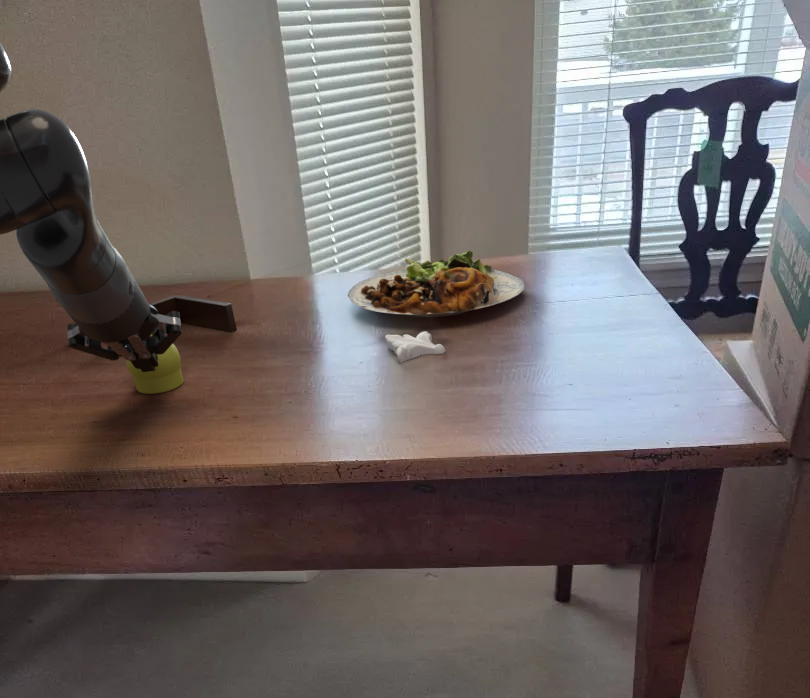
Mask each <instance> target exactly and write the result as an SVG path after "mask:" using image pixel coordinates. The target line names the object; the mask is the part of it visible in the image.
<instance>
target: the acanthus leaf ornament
mask: <svg viewBox="0 0 810 698" xmlns="http://www.w3.org/2000/svg"><path fill="white" fill-rule="evenodd" d="M384 339H385V341H386V344H387V346H388V349H389V350H390V351H393V352H394V354H395V355H396V356H397V360H398V363H399V364H402V363H404V362H406V361H407V362H408V361H409V360H413V358H414V359H416V358H418V357H420V355H421V356H424V355H425V356H426V355H442V354H445V353H446V349H445V347H444V345H442V344H441V343H437V344H434V343H433V342H432V339H433V337H432V333H429V332H428V331H426V330H425V331H421V332H419V333H418V334H417V335H416V337H414V336H412V335H410V334H403V335H399V334H386V335H385V336H384ZM417 356H418V357H417ZM415 357H416V358H415Z"/></svg>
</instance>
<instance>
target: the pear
mask: <svg viewBox="0 0 810 698" xmlns="http://www.w3.org/2000/svg"><path fill="white" fill-rule="evenodd" d="M151 336H152V334H151ZM157 356H158V367H155V371H150V372H142V371H141V369H137V368H135V367H134V366H133V364H132V363H131V362H130V361H128V360H126V359H125V364H126V367H127V370H128V372H129V373H130V375H131V376H132V378H133V383H134V385H135V389H136V391H137V392H138V393H141V394H145V395H146V394H147V395H149V394H150V395H152V394H161V393H166V392H170V391H173V390H175V389H177V388H179V387H180V386H181V385H183V383H184V382H185V381H184V376H183V373H182V372H183V371H182V369H181V355H180V352H179V350H178V348H177V346H176V345H175V344H174V343H173V344H172V345H171V346H170V347H169V348H168V349H167V351H166V352H165V353H164V354H160V355H158V354H157Z"/></svg>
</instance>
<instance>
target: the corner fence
mask: <svg viewBox="0 0 810 698" xmlns="http://www.w3.org/2000/svg"><path fill="white" fill-rule="evenodd" d="M148 304H149V305H151V306H153V307H154V308H156V310H157V311H158V314H161V315H165V316H166V315H167V314H168V313H169V312H171V311H177V312H179V313H180V322H181V324H188V325H193V326H198V327H203V328H208V329H214V330H219V331H223V332H228V333H232V332H234V331H237V324H236V319H235V314H234V309H233V305H232V303H229V302H223V301H216V300H210V299H204V298H199V297H198V298H197V297H192V296H186V295H179V294H173V295H170V296H168V297H165V298H162V299H159V300H156V301H153V302H151V303H148Z"/></svg>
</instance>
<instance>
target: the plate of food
mask: <svg viewBox="0 0 810 698" xmlns="http://www.w3.org/2000/svg"><path fill="white" fill-rule="evenodd" d="M473 253H474V252H473V251H472V250H468V251H463V252H462V253H461V252H460V253H457V254H453V255H451V256H450V257H448V260H444V259H443V258H441V259H439V260H438V261H435V262H431V261H430V260H425V261H424V262H422V263H420V262H418V261H415V260H413V259H411V258H404V261H405V262H406V263H407V264H408V266H407V267H406V268H405V269H400V270H399V269H398V270H395V271H389V272H384V273H381V274H377V275H373V276H371V277H368V278H365V279H363V280H361V281H359V282H357V283H356V284H355V285H353V286H352V287H351V288H350V289H349V291H348V293H347V297H348V299H349V301H350V302H351V303H352V304H353V305H355V306H356V307H359V308H362V309H364V310H368V311H371V312H378V313H382V314H383V313H384V314H393V315H407V316H410V317H416V318H434V317H437V318H438V317H448V316H449V317H450V316H458V315H461V314H465V313H467V312H470V311H472V310H481V309H484V308H488V307H490V306H494V305H497V304H501V303H504V302H506V301H509V300H511V299H513V298H515V297H517V296H519V295H520V294H521V293H522V292H523V290H524V289H525V288H526V283H525V282H524V280H523V279H522V278H520V277H519V276H517V275H514V274H511V273H508V272H505V271H501V270H498V269H494V268H493V267H492V266H491V265H488V264H485V265H484V264H483V263H482V261H481V258H478V259H476V260H475V261H473V255H474V254H473Z"/></svg>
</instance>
